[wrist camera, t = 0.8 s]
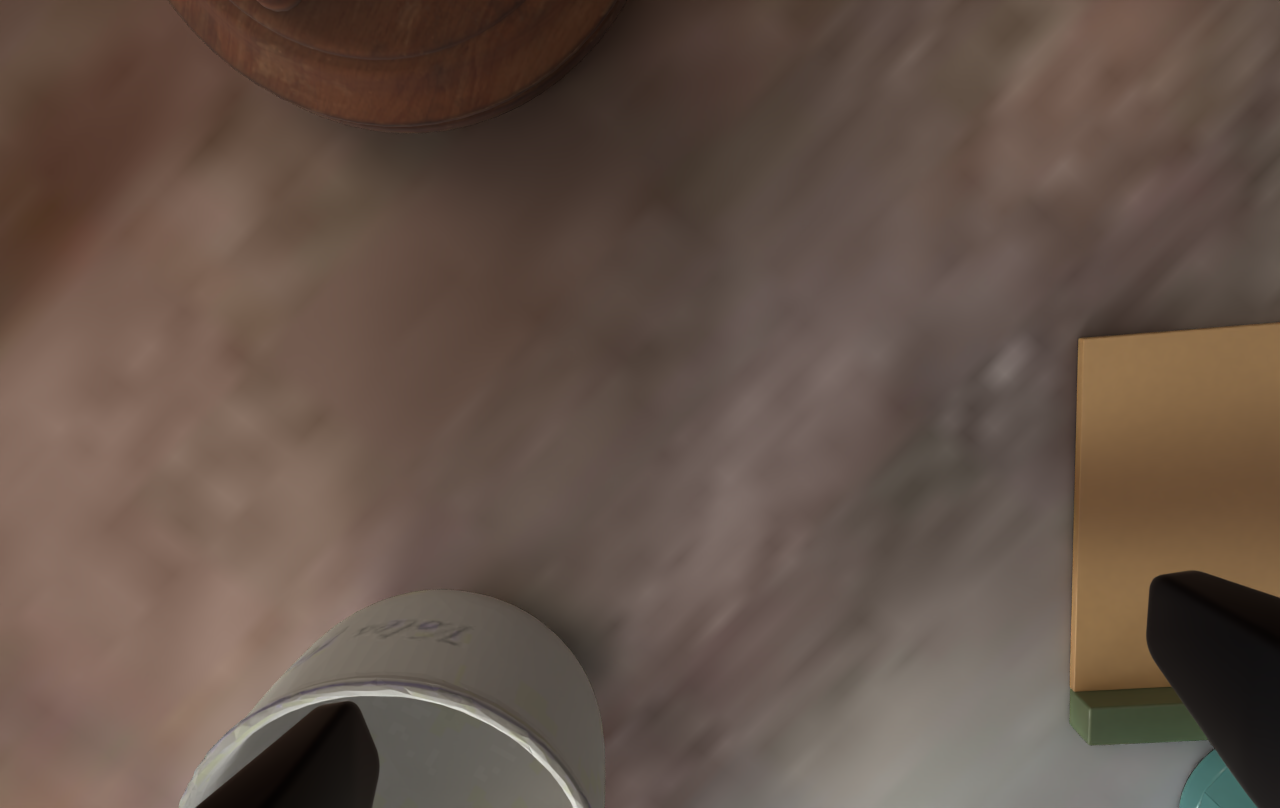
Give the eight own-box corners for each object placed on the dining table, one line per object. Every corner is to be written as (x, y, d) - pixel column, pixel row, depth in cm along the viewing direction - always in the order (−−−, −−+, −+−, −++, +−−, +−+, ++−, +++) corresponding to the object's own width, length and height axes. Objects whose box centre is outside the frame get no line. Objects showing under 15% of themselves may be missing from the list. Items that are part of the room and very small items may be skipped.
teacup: (492, 493, 23) (402, 602, 16) (685, 727, 25) (692, 938, 17) (203, 711, 25) (-7, 906, 18) (395, 918, 27) (280, 1186, 19)
